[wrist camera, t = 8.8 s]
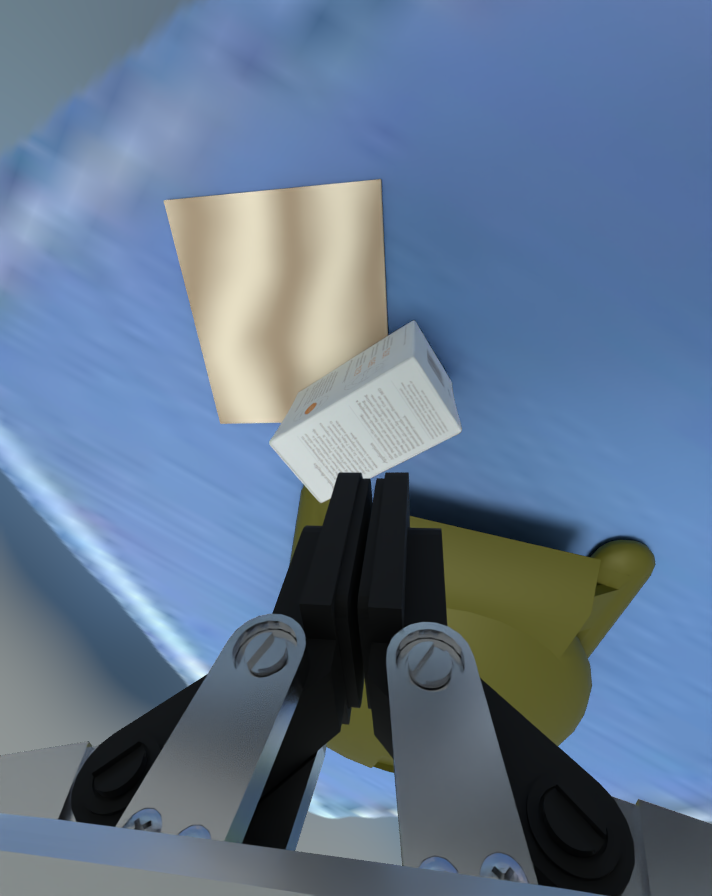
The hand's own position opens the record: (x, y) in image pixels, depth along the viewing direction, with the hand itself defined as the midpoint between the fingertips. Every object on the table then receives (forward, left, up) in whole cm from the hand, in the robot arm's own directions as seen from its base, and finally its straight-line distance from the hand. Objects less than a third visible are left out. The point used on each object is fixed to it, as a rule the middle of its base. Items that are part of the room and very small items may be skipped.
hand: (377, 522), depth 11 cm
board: (+8, 0, -23) cm, 24 cm away
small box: (-2, +3, -18) cm, 19 cm away
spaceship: (-2, +33, -24) cm, 40 cm away
